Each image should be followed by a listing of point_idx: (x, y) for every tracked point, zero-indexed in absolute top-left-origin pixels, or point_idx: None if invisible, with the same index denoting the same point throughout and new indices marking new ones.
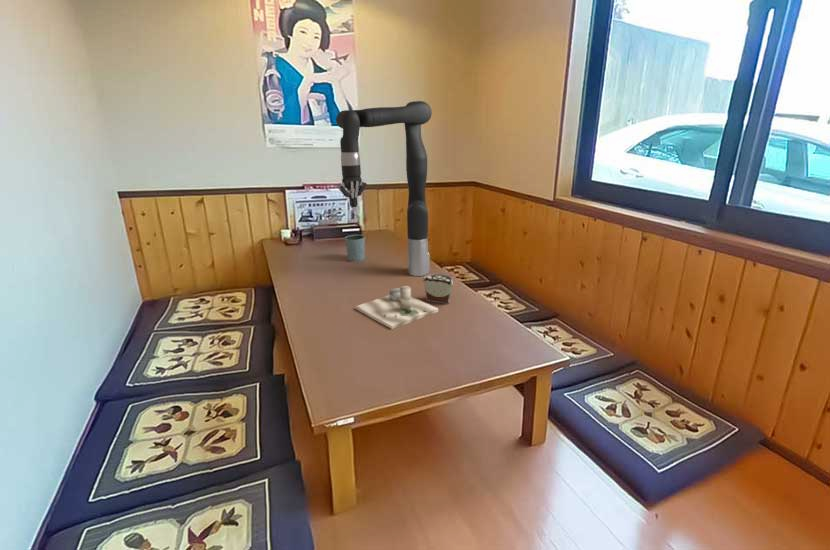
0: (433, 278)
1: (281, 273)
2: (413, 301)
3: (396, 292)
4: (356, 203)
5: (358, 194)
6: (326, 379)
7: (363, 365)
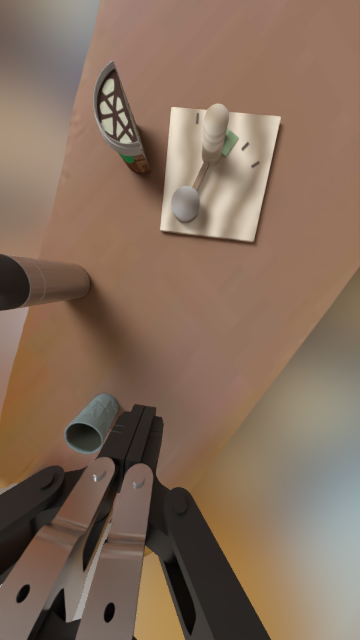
0: (124, 127)
1: (221, 440)
2: (177, 173)
3: (191, 197)
4: (127, 418)
5: (62, 486)
6: None
7: None
